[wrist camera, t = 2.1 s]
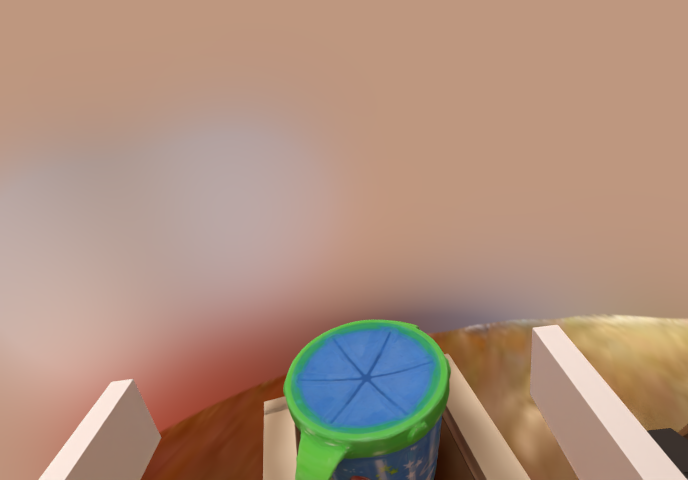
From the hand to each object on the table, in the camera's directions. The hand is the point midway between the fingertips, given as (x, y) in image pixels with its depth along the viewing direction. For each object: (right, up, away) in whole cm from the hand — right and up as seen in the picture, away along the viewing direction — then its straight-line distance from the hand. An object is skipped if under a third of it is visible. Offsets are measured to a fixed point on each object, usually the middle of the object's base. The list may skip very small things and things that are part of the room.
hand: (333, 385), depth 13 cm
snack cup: (+3, -13, +16) cm, 21 cm away
